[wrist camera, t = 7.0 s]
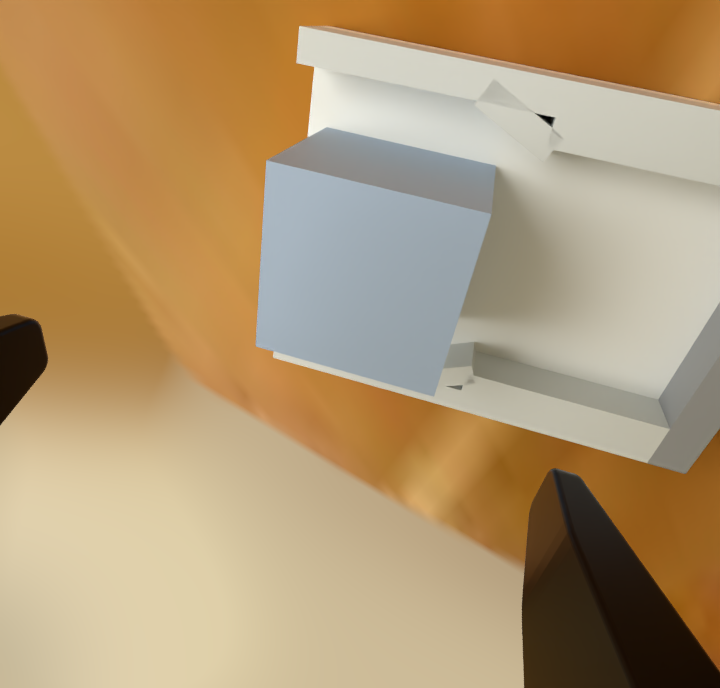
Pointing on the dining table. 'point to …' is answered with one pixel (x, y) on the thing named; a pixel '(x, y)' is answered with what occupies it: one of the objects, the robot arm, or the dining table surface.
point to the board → (559, 239)
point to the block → (369, 254)
